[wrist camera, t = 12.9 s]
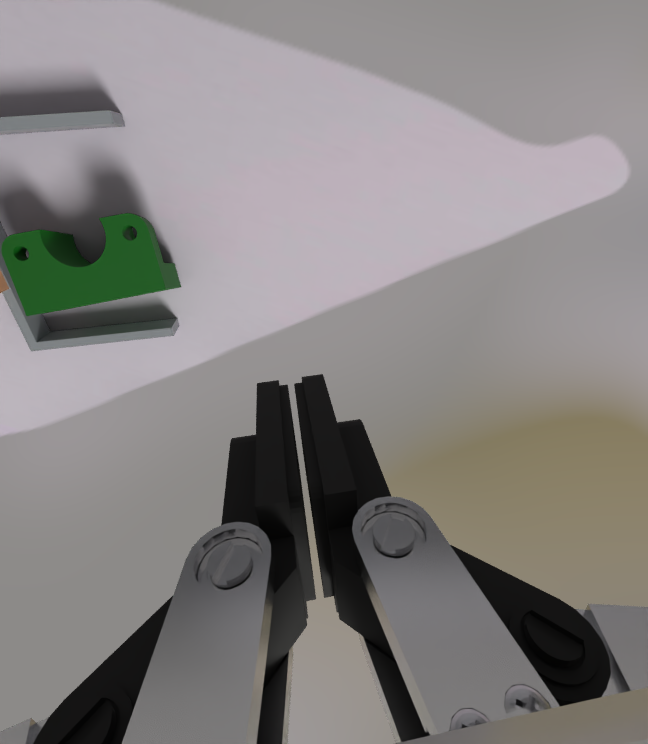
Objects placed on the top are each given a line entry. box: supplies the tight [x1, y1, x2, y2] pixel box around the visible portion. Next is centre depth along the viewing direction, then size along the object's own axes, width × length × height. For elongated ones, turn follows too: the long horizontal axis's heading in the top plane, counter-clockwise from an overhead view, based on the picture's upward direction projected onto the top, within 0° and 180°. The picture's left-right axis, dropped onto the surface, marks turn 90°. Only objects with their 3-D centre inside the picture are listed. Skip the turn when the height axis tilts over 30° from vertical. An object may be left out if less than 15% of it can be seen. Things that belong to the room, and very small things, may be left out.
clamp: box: [1, 213, 181, 316], centre depth 32 cm, size 12×6×9 cm, turn 95°
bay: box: [0, 110, 179, 351], centre depth 30 cm, size 13×18×6 cm
